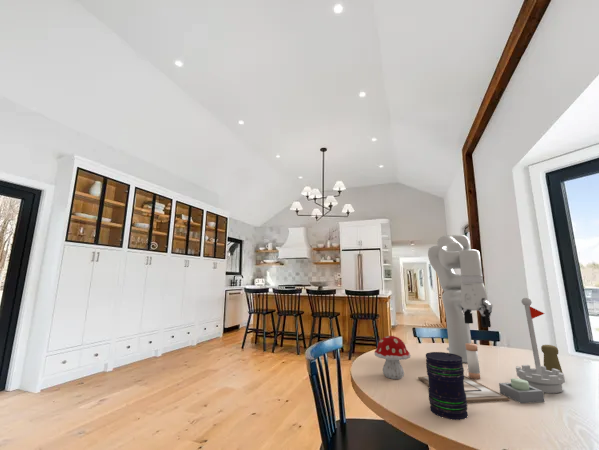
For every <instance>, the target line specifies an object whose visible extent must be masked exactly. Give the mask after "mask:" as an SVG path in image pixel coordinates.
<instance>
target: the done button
mask: <svg viewBox="0 0 599 450" xmlns="http://www.w3.org/2000/svg"><path fill="white" fill-rule="evenodd" d="M510 383H511V386H512V388H515V389H517V390H519V391H522V390H529V383H528V381H526V380H522V379H521V378H510Z"/></svg>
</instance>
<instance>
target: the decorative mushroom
mask: <svg viewBox="0 0 599 450" xmlns="http://www.w3.org/2000/svg"><path fill="white" fill-rule="evenodd" d="M374 356H375V357H377V358H379V359H384V360H385V361H384V364H383V366H382V373H383V375H384V377H385V378H388V379H392V380H400V379H403V377H404V375H405V372H404V367H403V366H402V364H401V362H400V361H402V360H407V359H410V358H411V356H412V355H411V353H410V352H409V351H408V349H407V347H406V343H404V341H403V340H402V339H401V338H400V337H397V336H395V335H386V336H384V337H382V338H381V339H380V340H379V341H378V344H377V347H376V349H375V350H374Z"/></svg>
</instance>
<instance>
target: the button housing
mask: <svg viewBox="0 0 599 450" xmlns="http://www.w3.org/2000/svg"><path fill="white" fill-rule="evenodd" d="M498 386H499V393H500V394H502V395H504V396H506V397H508V398H509V399H512V400H514V401H515V402H517V401H518V402H517V403H519V402H520V404H528V403H529V402H531V403H543V402H544V403H545V396H544V392H543V391H542V390H539V389H537V388H534V387H532V386H530V385H529V390H522V391H519V390H517V389H515V388H512V386H511V382H499V383H498ZM529 404H530V403H529Z"/></svg>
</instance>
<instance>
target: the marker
mask: <svg viewBox="0 0 599 450" xmlns="http://www.w3.org/2000/svg"><path fill="white" fill-rule="evenodd" d="M465 346H466V353H467V363H466V364H467V368H468V369H467V370H468V378H470V379H472V380H481V379H482V378H481V370H480V363H479V362H480V360H479V354H478V350H479V349H478V344H476V343H472V342H471V343H466V344H465Z"/></svg>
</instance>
